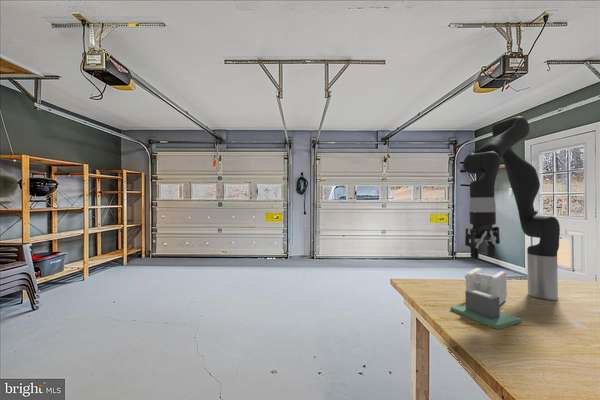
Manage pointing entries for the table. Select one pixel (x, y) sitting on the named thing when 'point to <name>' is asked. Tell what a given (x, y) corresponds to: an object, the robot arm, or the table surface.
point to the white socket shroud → (487, 283)
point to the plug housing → (482, 303)
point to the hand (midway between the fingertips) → (483, 257)
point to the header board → (495, 322)
